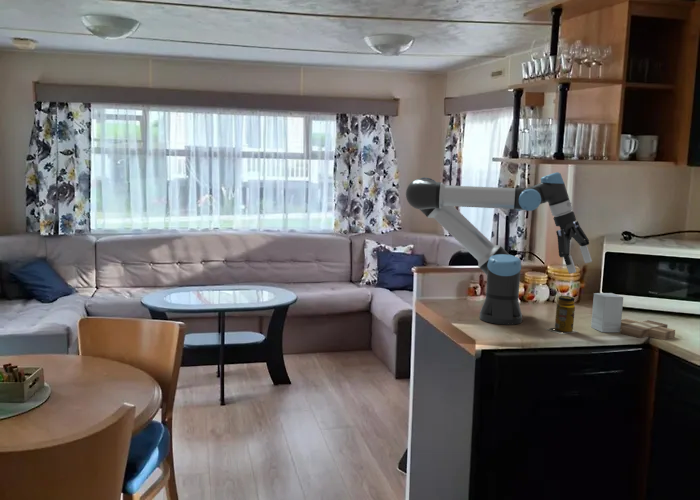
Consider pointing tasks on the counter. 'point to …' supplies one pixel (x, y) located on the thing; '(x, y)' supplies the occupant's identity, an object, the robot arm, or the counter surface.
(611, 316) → the supplement box
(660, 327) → the cross stand
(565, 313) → the condiment
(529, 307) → the counter surface
